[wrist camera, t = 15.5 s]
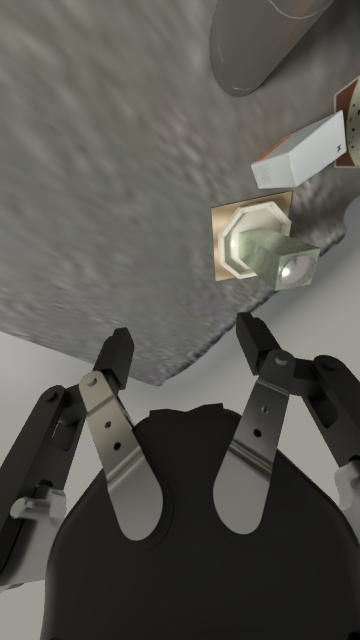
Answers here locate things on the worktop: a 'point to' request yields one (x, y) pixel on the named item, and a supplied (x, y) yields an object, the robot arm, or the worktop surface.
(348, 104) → the food container
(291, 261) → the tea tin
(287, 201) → the board
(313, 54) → the worktop surface
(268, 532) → the robot arm
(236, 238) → the bowl
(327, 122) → the skincare box
